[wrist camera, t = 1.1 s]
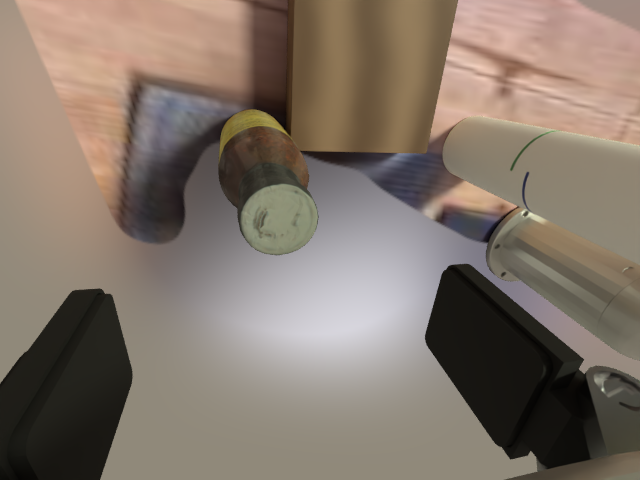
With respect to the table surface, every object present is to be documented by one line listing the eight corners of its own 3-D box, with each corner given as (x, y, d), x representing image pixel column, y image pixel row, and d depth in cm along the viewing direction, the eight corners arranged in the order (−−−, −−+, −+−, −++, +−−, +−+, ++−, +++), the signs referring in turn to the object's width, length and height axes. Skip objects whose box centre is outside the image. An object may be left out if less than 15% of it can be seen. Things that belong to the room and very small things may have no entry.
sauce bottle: (207, 140, 32) (172, 219, 15) (251, 92, 31) (267, 120, 14) (257, 184, 35) (275, 292, 18) (298, 142, 34) (359, 215, 17)
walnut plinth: (436, -6, 31) (461, -16, 27) (408, 145, 37) (426, 153, 34) (288, -27, 28) (295, -41, 24) (285, 142, 34) (290, 150, 31)
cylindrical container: (439, 180, 40) (676, 309, 18) (446, 118, 37) (747, 187, 15) (491, 173, 41) (771, 287, 20) (502, 113, 38) (857, 170, 16)
